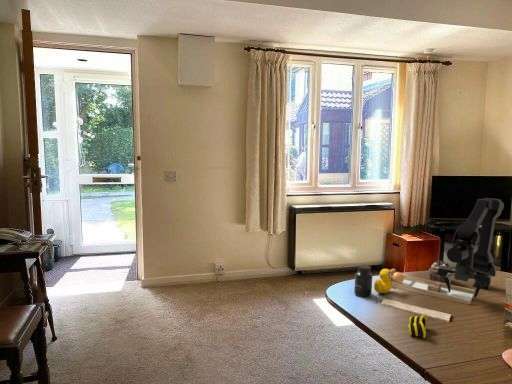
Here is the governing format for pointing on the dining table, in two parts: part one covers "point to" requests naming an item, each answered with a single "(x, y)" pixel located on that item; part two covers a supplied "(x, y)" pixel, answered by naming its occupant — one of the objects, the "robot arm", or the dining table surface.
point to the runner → (443, 290)
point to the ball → (398, 277)
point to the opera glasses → (418, 326)
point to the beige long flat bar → (416, 310)
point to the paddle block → (434, 286)
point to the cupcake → (434, 271)
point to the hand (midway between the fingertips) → (462, 295)
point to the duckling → (384, 281)
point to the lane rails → (432, 293)
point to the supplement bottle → (363, 281)
